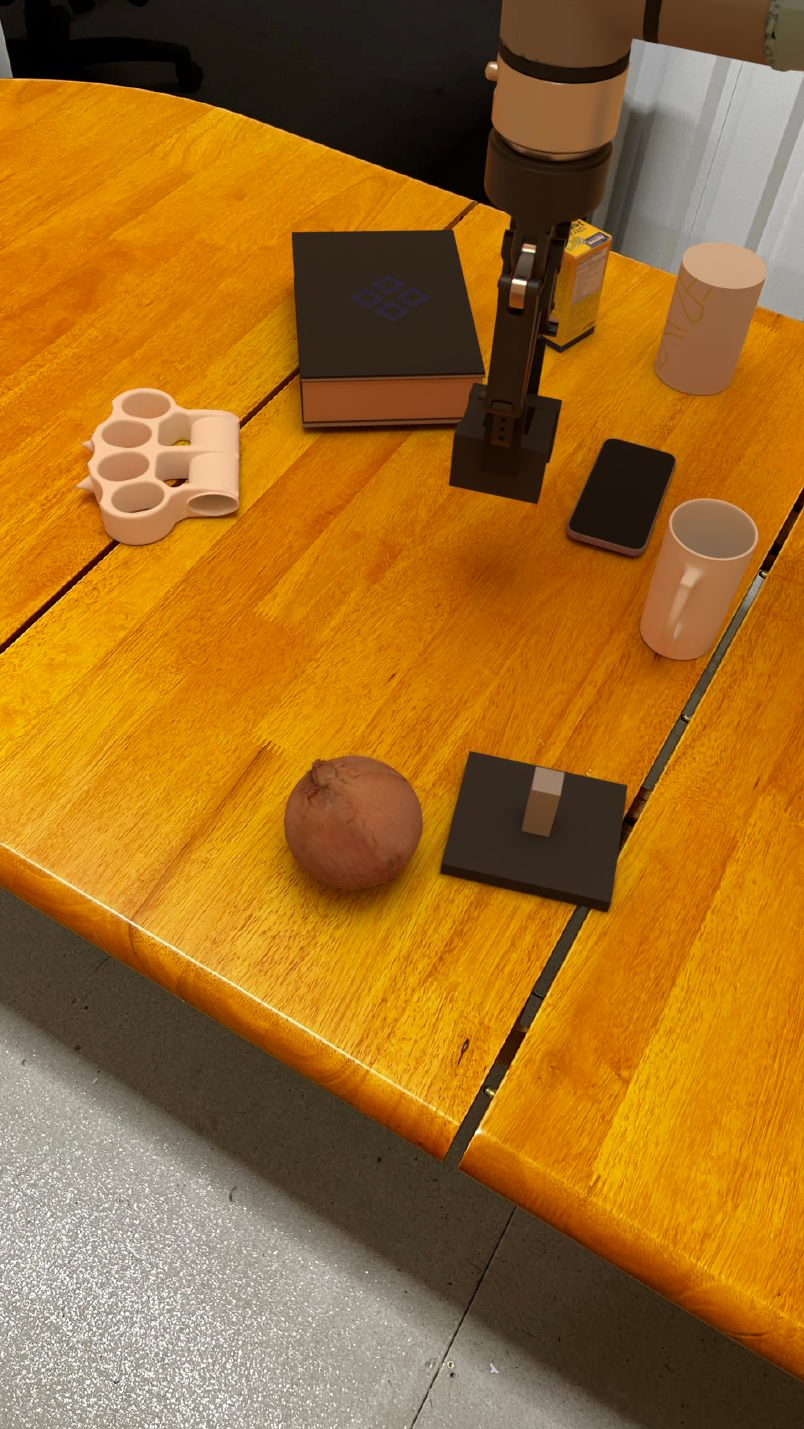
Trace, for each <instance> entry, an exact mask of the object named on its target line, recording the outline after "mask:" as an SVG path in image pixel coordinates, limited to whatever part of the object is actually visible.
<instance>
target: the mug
mask: <svg viewBox="0 0 804 1429" xmlns="http://www.w3.org/2000/svg"><path fill="white" fill-rule="evenodd" d="M758 542H759V530H758V527H757V525H756V523H755V521H754V519H752V517H751V516H750V515H749V514H747V512H746V511H745V510H743V509H742V508H740V507H738V506H737V505H734V504H733V503H731V502H728V501H726V500H722V499H716V498H708V497H707V498H705V497H704V498H703V497H702V498H701V497H700V498H694V499H690V500H687V501H683V502H682V503H680V504H679V505H678V506H676V507H675V508H674V509H673V511H672V512H671V514H670V515H669V519H668V523H667V526H666V529H665V532H664V534H663V539H662V542H661V546H660V549H659V553H658V557H657V560H656V564H655V568H654V571H653V575H652V578H651V581H650V585H649V587H648V588H649V589H648V592H647V595H646V599H645V602H644V606H643V611H642V615H641V619H640V622H639V623H640V624H639V632H640V635H641V638H642V639H643V641H644V643H646V645H647V646H648V647H649V648H650V649H651V650H652V651H654V652H655V653H656V654H658V655H660V656H662V657H665V658H668V659H672V660H677V661H691V660H694V659H698V658H700V657H703V655H705V654H706V653H708V651H709V650H710V649H711V648H712V646H713V644H714V642H715V640H716V638H717V635H718V633H719V632H720V630H721V627H722V625H723V623H724V620H725V618H726V616H727V613H728V611H729V608H730V606H731V604H732V602H733V599H734V597H735V595H736V593H737V591H738V588H739V586H740V583H741V582H742V579H743V577H744V575H745V573H746V571H747V568H748V566H749V564H750V561H751V559H752V556H753V554H754V552H755V549H756V546H757V545H758Z"/></svg>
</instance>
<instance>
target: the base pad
mask: <svg viewBox="0 0 804 1429" xmlns="http://www.w3.org/2000/svg"><path fill="white" fill-rule="evenodd" d="M627 792H628V785H627V784H624V783H619V782H615V781H609V780H604V779H601V778H596V777H592V776H587V775H583V774H578V773H573V772H568V771H564V770H560V769H555V768H551V767H546V766H542V765H537V764H532V763H527V762H523V761H518V760H513V759H510V758H505V757H500V756H496V755H490V754H486V753H481V752H477V751H472V750H469V752H468V754H467V759H466V764H465V767H464V771H463V775H462V779H461V783H460V787H459V791H458V795H457V799H456V802H455V807H454V811H453V815H452V820H451V823H450V827H449V831H448V835H447V839H446V842H445V847H444V850H443V855H442V859H441V864H440V869H439V874H441V875H444V876H449V877H453V878H458V879H462V880H466V881H470V882H476V883H479V884H484V885H488V886H493V887H497V888H501V889H506V890H510V891H514V892H518V893H523V894H527V895H532V896H535V897H540V898H544V899H548V900H553V901H557V902H562V903H566V904H570V905H573V906H578V907H584V908H587V909H591V910H596V911H601V912H604V913H608V911H609V909H610V907H611V904H612V901H613V893H614V887H615V878H616V873H617V872H616V871H617V864H618V857H619V850H620V843H621V835H622V829H623V822H624V815H625V809H626V808H625V807H626V800H627Z"/></svg>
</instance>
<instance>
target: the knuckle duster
mask: <svg viewBox="0 0 804 1429" xmlns="http://www.w3.org/2000/svg"><path fill="white" fill-rule="evenodd" d="M110 405H111V409H112V412H111V414H110V415H109V416H108V418H107V419H106V420H105V421H103V422H102V423H100V424H98V425H97V426H96V429H95V430H94V432H93V434H92V436H91V438H90V439H89V440H87V441H83V442H82V443H80V445H81V446H82V447H84V448H85V449H87V450H88V451H89V452H90V453H92V454H93V455H92V457H91V458H90V460H89V461H88V462H87V470H88V472H89V474H88V476H86V477H85V478H84V479H83V480H81V481H80V482H79V483H77V484H76V485H75V486H74V488H75V489H79V490H83V491H86V492H89V493H93V494H94V496H95V500H96V503H97V504H98V505H99V509H100V510H99V511H100V514H101V518H102V522H103V526H104V530H105V531H106V533H107V534H108V535H109V537H110V538H112V539H113V540H115V541H117V542H118V543H122V544H124V545H129V546H144V545H149V544H153V543H155V542H157V541H160V540H162V539H164V538H165V537H166V536H167V535H168V534H170V532H172V530H173V528H174V527H175V525H176V524H177V523H179V522H180V521H182V520H185V519H187V518H190V517H191V518H194V517H195V518H199V517H200V518H202V517H220V516H224V515H229V514H232V513H233V512H236V511H237V510H238V509H239V507H240V466H241V464H240V433H241V424H240V418H239V417H238V416H237V415H235V413H232V412H229V411H226V410H220V409H207V408H204V409H201V408H200V409H199V408H198V409H186V408H184V407H183V406H180V405H177V402H176V401H175V399H174V398H173V397H172V396H171V395H170V394H169V393H167V392H165V391H162V390H160V389H156V388H150V387H141V388H133V389H129V390H127V391H124V392H122V393H120V394H118V395H117V396H116V397H114V398H113V400H111V402H110ZM179 441H187V442H190V443H189V445H175V444H176V443H177V442H179ZM186 479H187V480H188V483H182V484H181V485H179V486H175V487H171V486H169V485H167V483H166V482H165V481H168V480H186Z"/></svg>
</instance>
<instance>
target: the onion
mask: <svg viewBox="0 0 804 1429" xmlns="http://www.w3.org/2000/svg"><path fill="white" fill-rule="evenodd" d="M311 764H312V765H311V768H310V769H309V770H308V771H307V770H306V773H305V774H304V775H303V776H302V777H301V778H300V779H299V780H298V781H297V783H296V784H295V785H294V787H293V789H292V791H291V792H290V794H289V796H288V798H287V802H286V806H285V811H284V814H283V815H284V817H283V830H284V831H283V833H284V838H285V841H286V844H287V846H288V849H289V851H290V854H291V855H292V857H293V858H294V860H295V861H296V863H297V864H298V866H299V867H300V868H302V870H303V871H304V872H305V873H307V874H308V875H309V876H311V877H312V878H314V880H316V881H319V882H321V883H322V884H325V885H327V886H330V887H333V888H337V889H342V890H347V891H349V890H361V889H368V888H373V887H376V886H378V885H381V884H383V883H386V882H390V881H393V880H395V877H396V875H397V874H398V873H400V872H401V871H402V870H403V869H404V868H405V867H406V866H407V864H408V863H409V862H410V861H411V859H412V857H413V856H414V855H415V853H416V852H417V849H418V846H419V843H420V841H421V836H422V833H423V827H424V826H423V825H424V824H423V823H424V822H423V809H422V806H421V805H422V804H421V802H420V799H419V796H418V795H417V793H416V791H415V790H414V787H413V786H412V784H411V783H410V782H409V780H408V778H406V777H405V776H404V775H402V774H401V773H400V772H399V771H398V770H397V769H395V768H394V767H392V766H391V765H389V764H388V763H387V762H384V761H382V760H379V759H376V758H374V757H370V756H365V755H343V756H338V757H334V758H330V759H327V760H326V759H324V758H323V759H321V758H316V759H315V761H312V762H311Z"/></svg>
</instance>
